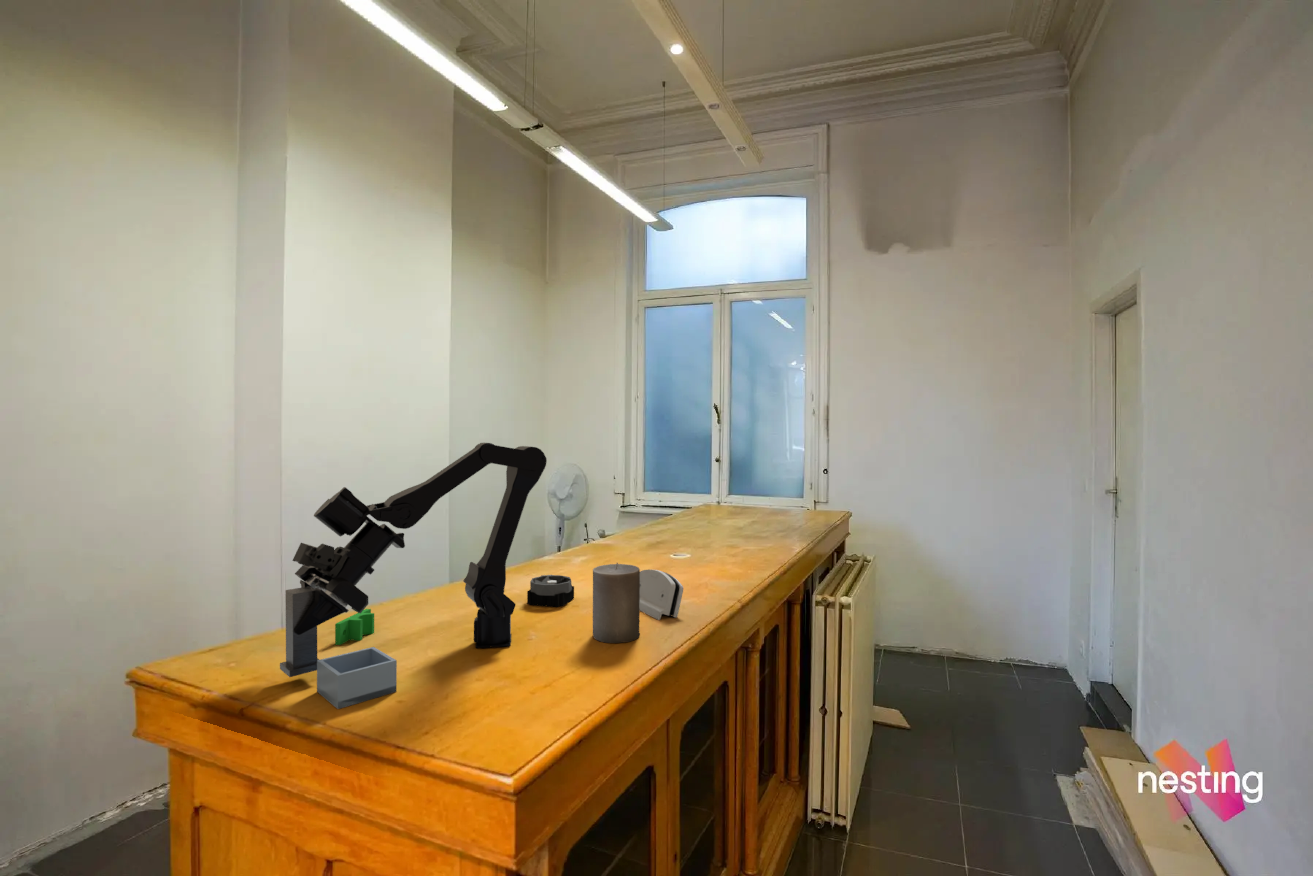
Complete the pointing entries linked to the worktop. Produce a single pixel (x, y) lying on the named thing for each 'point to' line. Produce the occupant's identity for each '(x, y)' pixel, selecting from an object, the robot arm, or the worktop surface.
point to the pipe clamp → (354, 627)
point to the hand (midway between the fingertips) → (292, 630)
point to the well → (356, 677)
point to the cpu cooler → (550, 591)
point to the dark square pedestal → (299, 646)
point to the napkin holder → (659, 594)
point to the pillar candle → (616, 603)
